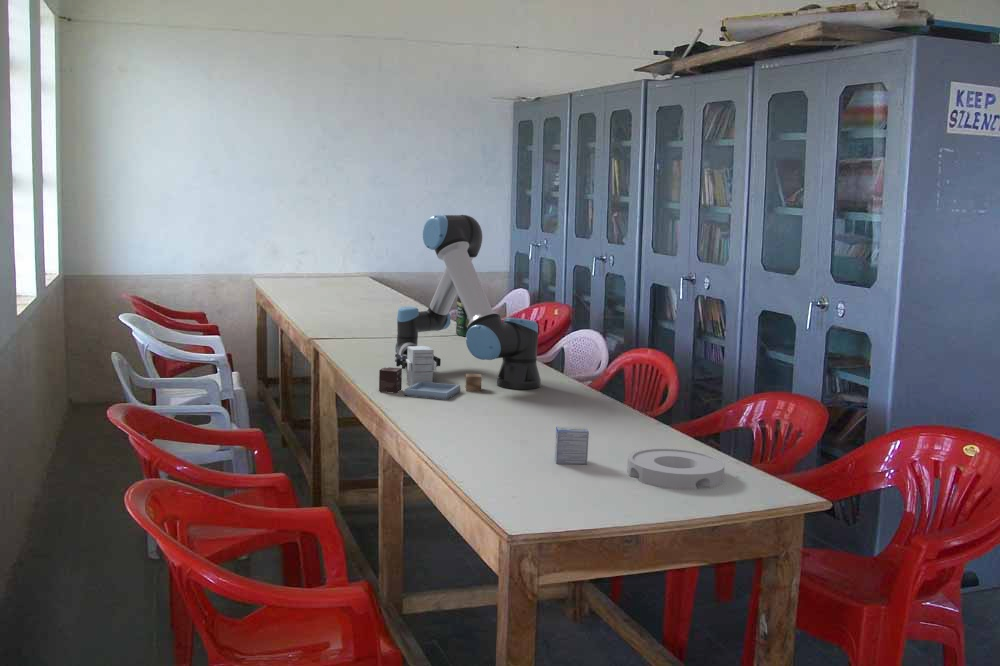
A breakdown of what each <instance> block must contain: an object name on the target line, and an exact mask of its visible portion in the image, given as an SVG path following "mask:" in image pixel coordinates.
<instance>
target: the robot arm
mask: <svg viewBox="0 0 1000 666" xmlns="http://www.w3.org/2000/svg"><path fill="white" fill-rule="evenodd" d="M422 240H423V244H424V245H425V247H426V248H428V249H429V250H433V251H434V252H435V254H436V256H437V258H438V260H441V261H443V262H444V264H445V269H444V272H443V273H442V276H441V278H440V281H439V283H438V285H437V287H436V290H435V292H434V295H433V296H432V299H431V302H430V304H429V306H428V308H427V310H423V311H419V308H418V307H417V306H401V307H398V309H397V318H396V323H397V329H396V330H397V331H396V332H397V335H396V343H395V345H394V350H395V354H394V355H395V356H394V362H396V367H397V368H400V366H401V368H402V370H407V369H408V371H411V362H410V361H409V360H408V359H407V349H408V346H418V343H419V342H418V339H419V338H418V337H419V333H423V332H433V331H437V332H439V331H442V330H443V331H444V330H446V329H448V328H449V327H450V326H451V319H452V318H451V314H450V313H449V312H450V310H451V308H452V305H453V303H454V301H455V299H456V296H457V295H458V296H459V298H460V300H461V302H462V305H463V307H464V310H465V312H466V314H467V317H468V319H469V324H468V326H467V328H468V331H467V334H466V336H465V337H466V339H465V343H466V347H467V350H468V352H470V354H471V355H472V356H473V357H474V358H476V359H478V360H482V361H483V360H484V361H486V360H487V361H492V360H495V359H502V363H501V365H500V369H499V371H498V374H497V376H496V385H497V386H498V387H501V388H505V389H513V390H533V389H537V388H540V387H541V386H542V385H541V383H542V382H541V381H542V380H541V379H542V378H541V376H540V372H539V369H538V365H537V357H538V355H537V354H538V340H539V338H538V337H539V325H538V322H537V321H535V320H531V319H524V318H518V317H504V320H502V318H501V315H500V314H499V313H498V312H496V311H493V309H492V306H491V303H490V301H489V299H488V297H487V294H486V292H485V290H484V287H483V285H482V282H481V280H480V278H479V275H478V273H477V271H476V268H475V266H474V264H473V262H472V261H473V259H475V258H477V257H478V254H479V253H480V250H481V248H482V243H483V231H482V228H481V225H480V224H479V222H478V221H477V219H475V218H474V217H472V216H470V215H467V214H436V215H432V216H430V217H429V218H427V220H426V221H425V223H424V226H423V229H422ZM434 354H435V353H434ZM434 354H433V372H434V371H437V368H438V367H441V362H442V361H441V360H442V359H441V358H440V357H438V356H436V355H434Z"/></svg>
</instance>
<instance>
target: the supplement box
mask: <svg viewBox="0 0 1000 666" xmlns="http://www.w3.org/2000/svg"><path fill="white" fill-rule="evenodd" d="M433 354H435V352H434V349H433V348H431V347H429V346H428V345H417V346H408V349H407V359H408V360H409V361H410V362H411V371H408V369H407V368H406V383H407V384H409V385H410V386H412V385H414V384H416V383H418V382H420V381H423V382H433V381H434V380H433V379H434V370H433ZM433 383H434V382H433Z"/></svg>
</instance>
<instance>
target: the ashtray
mask: <svg viewBox="0 0 1000 666" xmlns="http://www.w3.org/2000/svg"><path fill="white" fill-rule="evenodd" d="M626 467H627V468H626V472H627V474H628V476H629V477H631V478H638V482H640V483H642V484H646V485H649V486H653V487H659V488H663V489H673V490H681V491H683V490H684V491H686V490H687V491H688V490H689V491H694V490H697V488H698V487H701V488H706V489H712V488H715V487H719V486H720V485H722V484H723V483H724V479H725V478H724V477H725V462H724V461H723V460H722V459H720V458H718V457H716V456H714V455H712V454H709V453H706V452H701V451H697V450H691V449H686V448H676V447H675V448H674V447H649V448H643V449H638V450H634V451H632V452H630V453H629V454H628V455H627V466H626Z"/></svg>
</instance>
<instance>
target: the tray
mask: <svg viewBox="0 0 1000 666" xmlns="http://www.w3.org/2000/svg"><path fill="white" fill-rule="evenodd" d="M458 392H459V393H460V392H461V385H460V384H453V383H442V382H423V381H420V382H418V383H416V384H414V385H412V386H411V385H410V386H408V387H406V388H405V389H404V396H405V395H408V396H407V397H411V396H417V397H416V398H421V397H427V398H426V399H431V398H437V399H436V400H441V399H446V400H445V401H447V400H449V399H450V397H451V396H452V397H454V396H455V395H457V394H458ZM456 393H457V394H456ZM453 395H454V396H453ZM452 397H451V398H452ZM448 398H449V399H448Z"/></svg>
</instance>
